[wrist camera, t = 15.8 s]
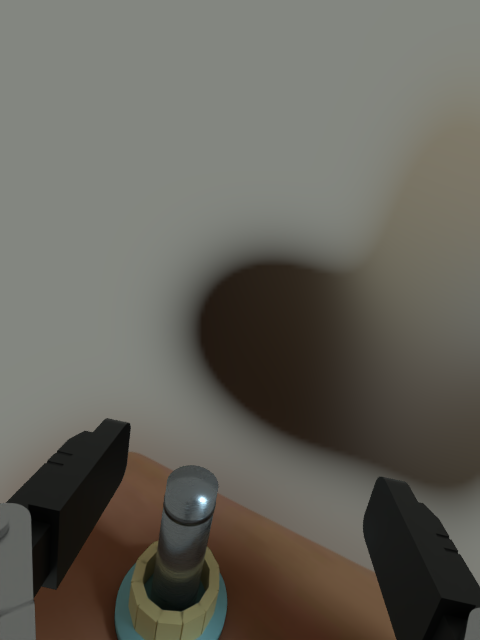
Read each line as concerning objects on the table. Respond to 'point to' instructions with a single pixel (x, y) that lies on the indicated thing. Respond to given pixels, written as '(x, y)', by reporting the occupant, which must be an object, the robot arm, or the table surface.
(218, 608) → the ring collar
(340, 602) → the table surface
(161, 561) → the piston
